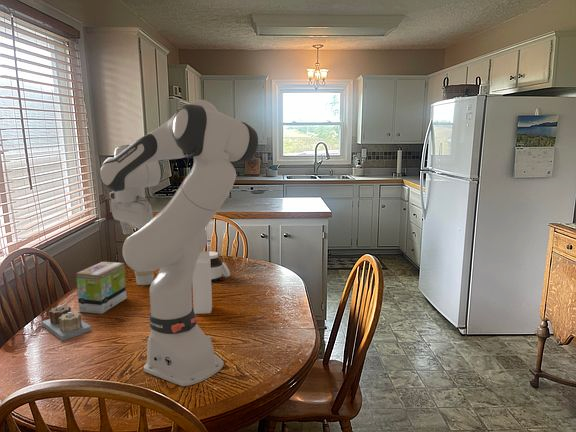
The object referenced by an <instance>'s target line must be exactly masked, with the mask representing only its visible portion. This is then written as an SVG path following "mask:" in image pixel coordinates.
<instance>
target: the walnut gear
mask: <svg viewBox="0 0 576 432" xmlns="http://www.w3.org/2000/svg"><path fill="white" fill-rule="evenodd" d="M68 312H72V309H71V306H68V305H66V304H65V305H62V310H61V311H58V309H57V306H56V307H52V308H50V310H49V311H48V314H49V319H50V322H51V323H54V324H60V323H59V317H61V315H63V314H67V313H68Z"/></svg>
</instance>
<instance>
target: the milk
mask: <svg viewBox="0 0 576 432" xmlns="http://www.w3.org/2000/svg"><path fill="white" fill-rule="evenodd" d="M209 252H210V251H204V250H203V251H202V252H201V254H200V256H199V258H198V260H197V263H196V266H195V269H194V273H193V278H192V300H193V301H192V306H193V310H194V312H195V315H201V314H202V315H205V314H211V313H212V310H213V296H212V295H213V294H212V293H213V292H212V291H213V290H212V282H211V263H210V256H209Z"/></svg>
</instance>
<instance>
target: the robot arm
mask: <svg viewBox="0 0 576 432" xmlns="http://www.w3.org/2000/svg"><path fill="white" fill-rule="evenodd" d="M258 147H259V136H258V133H257V131H256V130H255V129H254V128H253V127H252V126H251V125H249V124H248V123H246V122H244V121H239V120H238V119H236V118H234V117H232V116H229V115H227V114H225V113H224V112H220V111H218V109H217V107H215V105H214V104H213V103H211V102H210V101H209V100H205V99H196V100H193V101H191V102H189V103H187V104H185V105H183V106H181V107H180V108H179V109H178V110H177V111H176V112H175V113H174V115H173V114H172V116H171V118H169V119H168V120H167V121H166V122H164V123H163V124H161V125H160V126H159V127H156V128H155V129H154V130H153V131H150V132H149V133H147V134H145V135H142V137H140V138H138V139H136V140H135V142H133V143H132V144H125V145H124V144H123V145H120V146H118V147H116V148H115V149H114V156H113V157H107V158H106V159H105V160H104V161H103V163H102V164H101V166H100V168H99V179H100V181H101V183H102V184H103V185H104V186H105V187H106V188H107V189H109V190H110V191H111V192H109V199H110V200H111V201H110V204H111V205H110V206H111V207H110V208H111V213H112V217H113V219H114V220H115V221H119V223H120V226H121V229H122V234H124V235H129V236H127V237H126V238H125V240H124V242H123V245H122V251H121V252H122V258H123V260H124V262H125V263H126V265H127V266H128V267H129V268H130V269H131V270H132V271H134V272H135V271H137V272H144V271H153V270H154V271H157V270H159V271H158V273H157V275H156V276H154V280H153V281H152V283H151V284H149V285H150V286H149V288H148V289H149V304H150V306H149V307H150V312H149V318H148V320H149V321H148V322H149V328H150V333H149V336H148V338H147V343H146V344H147V345H146V346H147V347H146V348H147V349H146V363H145V364H144V365H143V372H145V373H147V374H149V375H152V376H155V377H157V378H161V379H162V380H166V381H168V382H170V383H173V384H175V385H178V386H181V387H187V386H192V385H195V384H198V383H200V382H203V381H205V380H207V379H208V378H210V377H212V376H215V374H217V373H218V372H220V370H222V369H223V367H224V365H225V364H224V360H223V359H222V358H220V357H219V356H218V355H216V354H215V349H214V345H213V343H212V342H213V341H212V337H211V336H210V335H206V334H205V333H204V331H203V330H202V328H201V327H200V326H199V325H198V321H199V316H196V314H195V312H194V307H193V301H192V300H193V293H192V286H193V284H192V278H193V273H194V269H195V266H196V263H197V260H198V258H199V256H200V254H201V252H204V249H205V248H206V247H207V243H208V232H207V230H206V227H207V226H208V225H209V223H210V222H211V221H212V219H213V218H214V217H215V215H216V214H217V213H218V211H219V210H220V208H221V207H222V205H223V204H224V203H225V201H226V200H227V197H228V196H229V194H230V192H231V191H232V188H233V186H234V184H235V182H236V177H237V171H236V169H235V167H234V164H246V163H248V162H249V161H251V160H252V158H254V156H255V154H256V152H257V150H258ZM183 158H187V159H193V164H192V167H191V169H190V170H189V172H188V174H187V175H186V176H185V178H184V179H183V181H182V182H181V184H180V186H179V187H178V188H177V190H176V192H175V193H174V195H173V196H172V197H171V199H170V200H169V201H168V203H167V204H166V205H165V206H164V207H163V208H162V209H161V210H160V211H159V212H158V213H157V214H156V215H155V216H154V214H153V213H154V212H153V208H152V204H151V203H150V201H148V199H147V197H146V193H145V191H146V190H145V189H146V188H150V187H155V186H158V185H159V184H160V183H161V181H162V179H163V176H164V167H163V165H162V162H160V161H166V160H178V159H183ZM128 224H131V225H134V226H138V230H137V231H135V232H134V233H132V234H131V230H130V227H129V225H128Z"/></svg>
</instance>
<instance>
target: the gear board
mask: <svg viewBox="0 0 576 432" xmlns="http://www.w3.org/2000/svg"><path fill="white" fill-rule="evenodd" d="M62 306H63V305H62V304H61V305H57V306H56V307H57V309H58V311H61V310H62ZM72 313H73V312H72V311H71V312H68V313H67V314H68V318H70V317H73V314H72ZM81 321H82V326H80V329H76V330H73V331H71V332H70V331H65V332H62V330H60V324H54V323H51V322H50V318H49V319H45V320H42V321H41V324H42V327H44V328H45V329H46V330H47V331H49V332H50V333H52V334H53V335H55V336H56V337H57V338H58V339H60V340H61V341H66V340H70V339H71V338H74V337H77V336H80V335H82V334H85V333H88V332H91V331H92V325H90V324H88V323H87V322H85V321H84V320H82V319H81Z"/></svg>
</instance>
